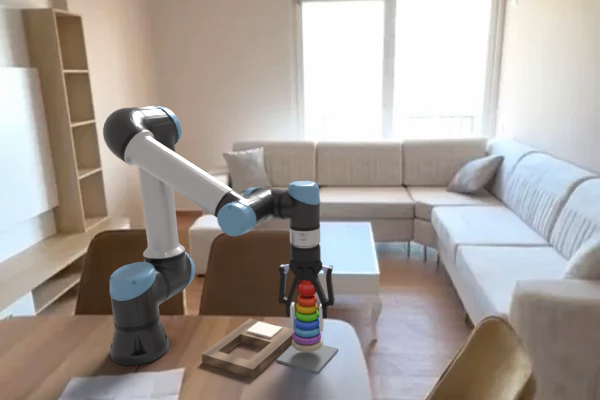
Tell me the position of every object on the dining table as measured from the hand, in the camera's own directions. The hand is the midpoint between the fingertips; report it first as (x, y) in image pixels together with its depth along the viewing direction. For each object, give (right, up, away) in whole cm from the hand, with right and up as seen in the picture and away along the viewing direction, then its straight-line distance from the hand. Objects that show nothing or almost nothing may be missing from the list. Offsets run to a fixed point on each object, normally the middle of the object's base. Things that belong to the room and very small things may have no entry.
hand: (307, 328), depth 128 cm
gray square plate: (0, -8, +2) cm, 8 cm away
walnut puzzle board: (-15, -7, +6) cm, 17 cm away
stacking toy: (0, -5, +1) cm, 5 cm away
